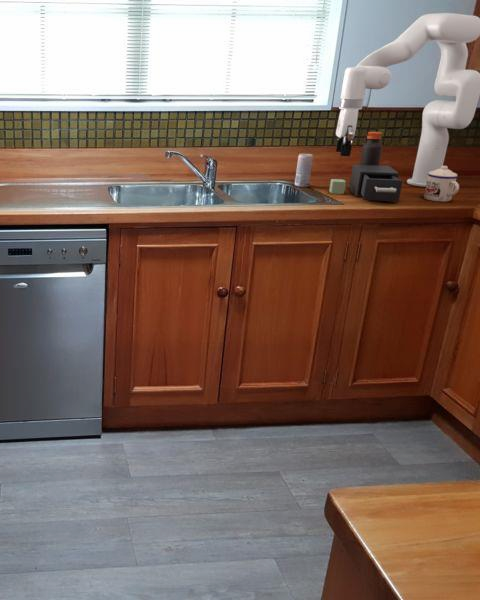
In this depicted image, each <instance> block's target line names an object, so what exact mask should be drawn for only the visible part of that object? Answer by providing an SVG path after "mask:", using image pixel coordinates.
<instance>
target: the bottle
mask: <svg viewBox="0 0 480 600" xmlns="http://www.w3.org/2000/svg"><path fill="white" fill-rule="evenodd" d="M382 137H383V132H380V131H368V132H367V135H366V141H367V142H365V143H364V144H363V145H362V150H361V153H360V161H359V165H377V166H380V162H381V156H382V151H383V145H382V144H381V140H382Z"/></svg>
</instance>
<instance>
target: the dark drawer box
mask: <svg viewBox="0 0 480 600" xmlns="http://www.w3.org/2000/svg"><path fill="white" fill-rule="evenodd" d="M362 174H375V175H393V176H395V177H396V178H397V179H399V175H400V173H399V172H398V171H397V170H395V169H394V168H393V167H391V166H390V165H379V166H377V165H360V164H352V168H351V174H350V179H349V185H348V189H349V191H350V192H351V193H352V194H353V195H354V196H355V197H356V198H363V196H362V195H361V194H360V193H359V191H360V186H361V180H362Z"/></svg>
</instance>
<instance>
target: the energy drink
mask: <svg viewBox="0 0 480 600" xmlns="http://www.w3.org/2000/svg"><path fill="white" fill-rule="evenodd" d="M313 161H314V154H311V153H298V156H297V166H296V171H295V178H294V186H295V187H297V188H308V187H309V186H310V181H311V175H312V168H313V163H314V162H313Z"/></svg>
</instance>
